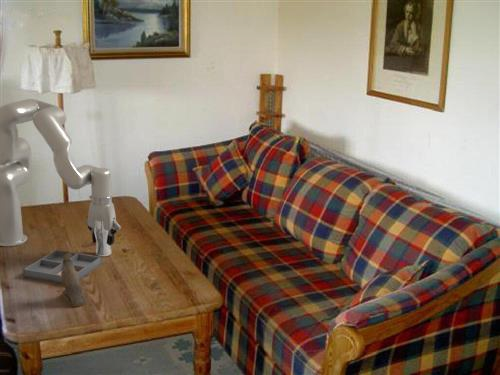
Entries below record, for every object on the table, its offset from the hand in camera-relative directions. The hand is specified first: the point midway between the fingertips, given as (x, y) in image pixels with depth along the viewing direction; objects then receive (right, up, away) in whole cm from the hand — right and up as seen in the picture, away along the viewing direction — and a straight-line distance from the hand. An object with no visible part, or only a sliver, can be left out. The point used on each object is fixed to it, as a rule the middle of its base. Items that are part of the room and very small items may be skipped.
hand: (103, 242), depth 254 cm
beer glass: (0, -5, +1) cm, 5 cm away
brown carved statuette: (-2, -16, -36) cm, 40 cm away
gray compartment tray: (-12, -9, -14) cm, 20 cm away
